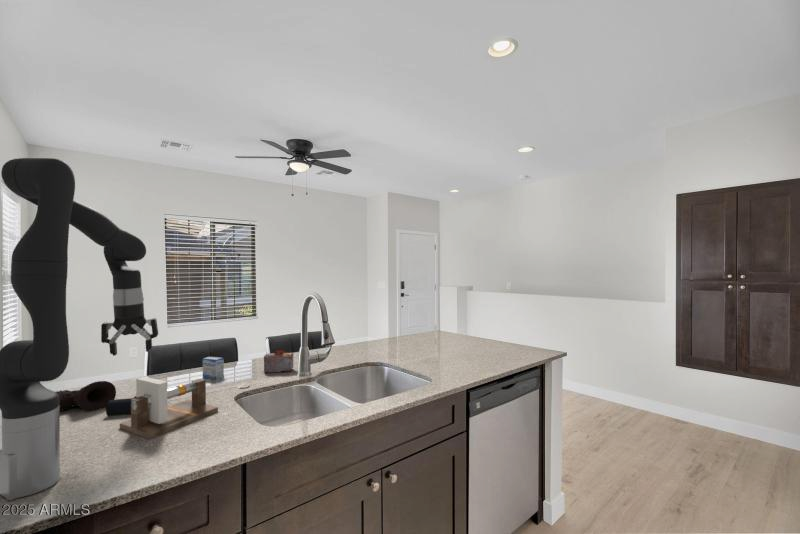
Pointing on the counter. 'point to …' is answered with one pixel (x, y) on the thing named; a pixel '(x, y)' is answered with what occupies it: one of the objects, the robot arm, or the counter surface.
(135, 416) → the pipe stand
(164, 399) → the white flat block
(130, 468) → the counter surface
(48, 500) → the counter surface
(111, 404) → the pipe connector
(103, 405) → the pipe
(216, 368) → the medicine box
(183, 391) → the steel pipe
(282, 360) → the food item
